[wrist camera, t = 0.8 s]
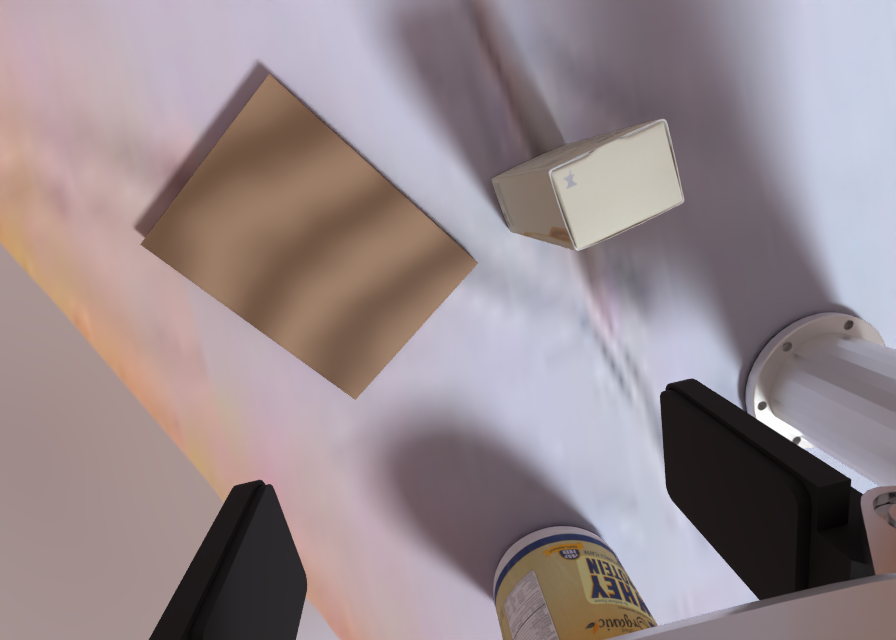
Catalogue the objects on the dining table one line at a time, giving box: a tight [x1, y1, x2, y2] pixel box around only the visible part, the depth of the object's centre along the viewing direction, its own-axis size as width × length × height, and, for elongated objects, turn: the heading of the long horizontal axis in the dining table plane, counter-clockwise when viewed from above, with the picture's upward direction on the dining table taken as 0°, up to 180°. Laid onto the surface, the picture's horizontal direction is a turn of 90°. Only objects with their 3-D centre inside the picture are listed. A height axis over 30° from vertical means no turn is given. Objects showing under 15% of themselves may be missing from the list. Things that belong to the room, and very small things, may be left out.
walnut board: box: [141, 74, 478, 400], centre depth 32 cm, size 18×14×1 cm
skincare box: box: [491, 119, 684, 251], centre depth 27 cm, size 6×4×12 cm
